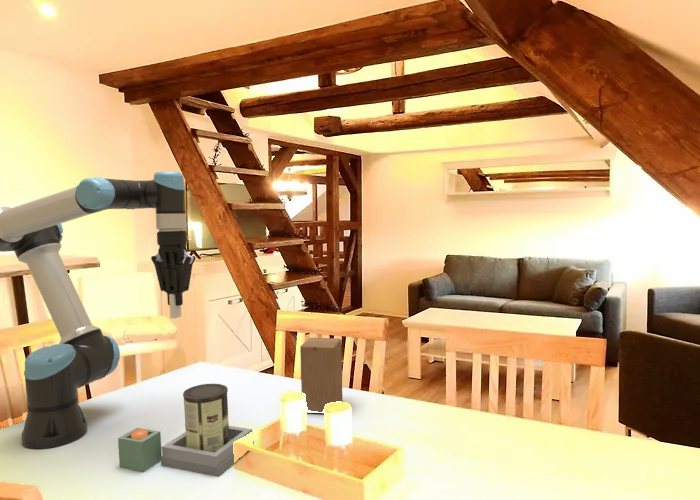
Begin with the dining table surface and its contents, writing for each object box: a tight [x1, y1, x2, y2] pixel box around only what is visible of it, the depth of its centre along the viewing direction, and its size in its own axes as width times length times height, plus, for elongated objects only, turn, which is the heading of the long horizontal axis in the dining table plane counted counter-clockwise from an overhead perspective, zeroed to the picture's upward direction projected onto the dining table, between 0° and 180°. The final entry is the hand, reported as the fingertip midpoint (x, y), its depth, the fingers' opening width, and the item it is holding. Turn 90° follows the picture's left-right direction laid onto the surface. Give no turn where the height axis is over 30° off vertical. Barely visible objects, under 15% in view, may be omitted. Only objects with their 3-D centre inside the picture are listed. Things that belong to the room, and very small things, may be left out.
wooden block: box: [299, 337, 343, 412], centre depth 153 cm, size 10×10×20 cm
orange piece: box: [131, 428, 148, 440], centre depth 122 cm, size 4×4×5 cm
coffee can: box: [182, 383, 230, 452], centre depth 125 cm, size 10×10×14 cm
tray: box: [160, 425, 253, 477], centre depth 125 cm, size 16×15×4 cm
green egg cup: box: [117, 427, 162, 473], centre depth 122 cm, size 7×6×7 cm
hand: (175, 317), depth 141 cm, fingers closed
